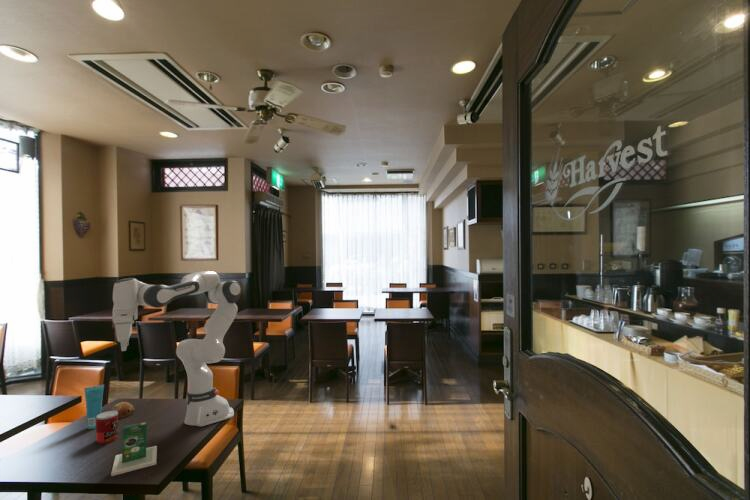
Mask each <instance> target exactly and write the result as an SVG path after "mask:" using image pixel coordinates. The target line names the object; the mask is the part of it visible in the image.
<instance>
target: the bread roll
mask: <svg viewBox="0 0 750 500" xmlns="http://www.w3.org/2000/svg"><path fill="white" fill-rule="evenodd" d="M134 410H135V407H134V406H133V405H132V404H131V403H129V402H127V401H121V402H118V403H117V404H115V405H113V406H112V407H111V408H110V410H109V411H117V412H118V419H124V418H126V417H129V416H131V415H132V414H133V413H134Z"/></svg>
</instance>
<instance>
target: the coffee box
mask: <svg viewBox="0 0 750 500" xmlns="http://www.w3.org/2000/svg"><path fill="white" fill-rule="evenodd" d="M147 434H148V421H144V422H143V421H142V422H137V423H133V424H127V425H123V428H122V449H121V451H122V453H121V454H122V462H127V461H131V460H134V459H138V458H143V457H146V448H147V442H148V441H147V439H148V437H147V436H148V435H147Z"/></svg>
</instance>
